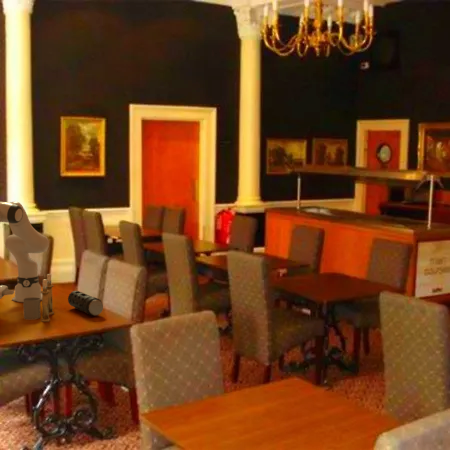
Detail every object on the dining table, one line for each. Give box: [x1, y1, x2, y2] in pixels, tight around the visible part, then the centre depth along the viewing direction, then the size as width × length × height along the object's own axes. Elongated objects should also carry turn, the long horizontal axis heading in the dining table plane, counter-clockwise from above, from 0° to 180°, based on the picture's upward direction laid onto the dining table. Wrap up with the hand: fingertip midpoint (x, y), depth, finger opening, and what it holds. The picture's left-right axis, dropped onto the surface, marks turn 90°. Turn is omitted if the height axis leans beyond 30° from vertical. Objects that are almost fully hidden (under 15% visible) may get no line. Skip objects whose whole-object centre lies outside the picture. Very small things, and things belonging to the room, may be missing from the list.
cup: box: [23, 297, 41, 321], centre depth 368 cm, size 8×8×10 cm
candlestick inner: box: [46, 273, 55, 316], centre depth 376 cm, size 4×4×22 cm
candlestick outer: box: [40, 278, 51, 323], centre depth 360 cm, size 4×4×22 cm
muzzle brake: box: [67, 290, 104, 317], centre depth 380 cm, size 10×28×10 cm, turn 35°
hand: (13, 292), depth 366 cm, fingers closed
